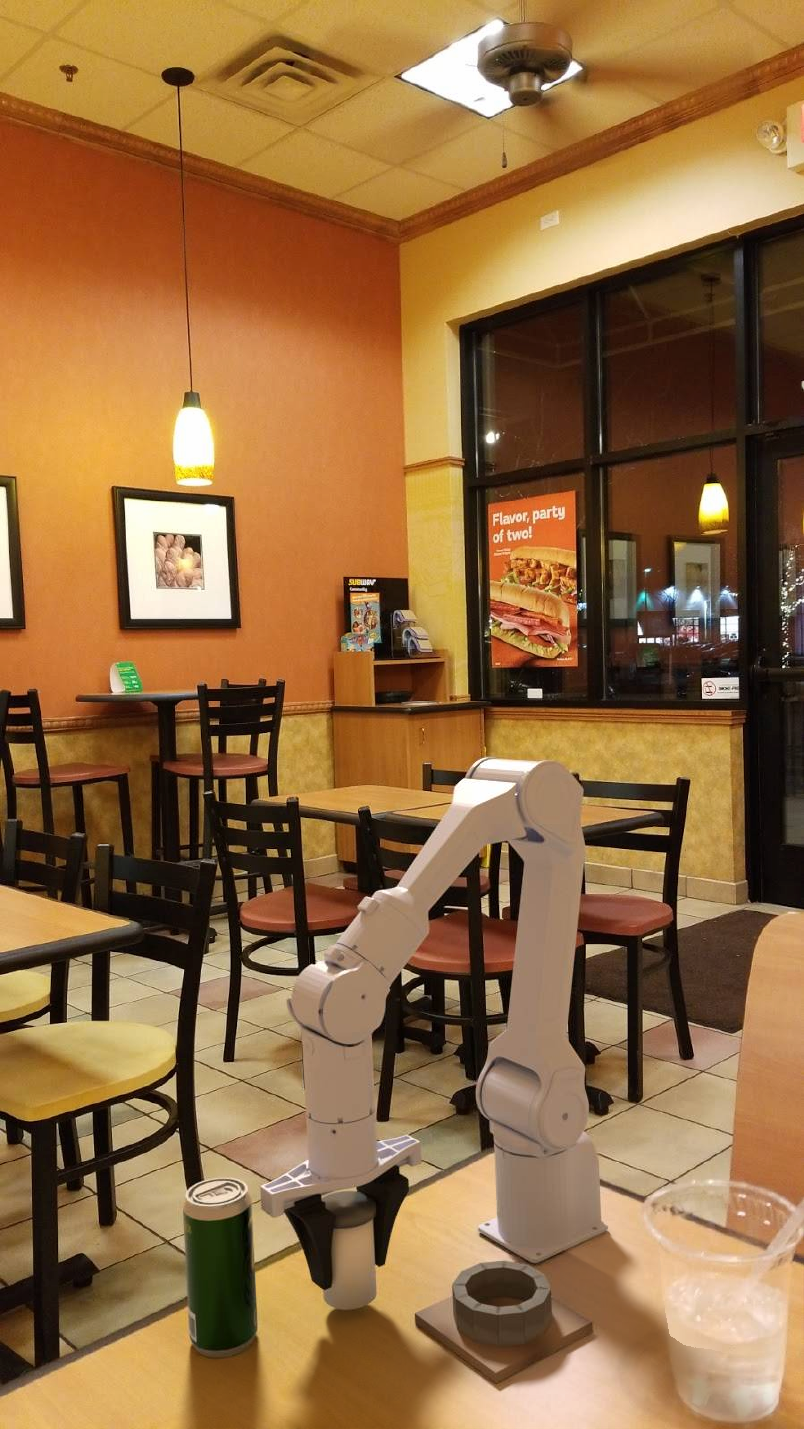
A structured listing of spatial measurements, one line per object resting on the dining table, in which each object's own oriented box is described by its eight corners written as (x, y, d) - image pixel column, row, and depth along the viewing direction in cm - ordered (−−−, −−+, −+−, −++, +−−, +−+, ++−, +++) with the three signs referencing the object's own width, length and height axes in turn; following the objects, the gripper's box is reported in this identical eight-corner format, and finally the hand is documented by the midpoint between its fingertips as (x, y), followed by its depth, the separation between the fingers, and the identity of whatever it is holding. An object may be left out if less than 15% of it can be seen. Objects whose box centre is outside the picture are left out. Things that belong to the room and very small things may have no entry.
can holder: (508, 1278, 95) (506, 1241, 95) (592, 1331, 87) (591, 1290, 87) (415, 1322, 90) (413, 1282, 89) (496, 1383, 81) (494, 1339, 81)
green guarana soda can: (206, 1369, 85) (198, 1214, 84) (179, 1335, 89) (171, 1189, 89) (269, 1343, 88) (262, 1193, 87) (240, 1312, 92) (233, 1170, 92)
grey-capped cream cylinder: (358, 1271, 95) (354, 1185, 95) (392, 1295, 91) (387, 1206, 91) (308, 1292, 92) (303, 1203, 92) (341, 1318, 88) (336, 1226, 88)
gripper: (385, 1075, 99) (392, 1225, 99) (239, 1119, 90) (247, 1283, 91) (433, 1097, 93) (440, 1256, 94) (282, 1147, 85) (291, 1321, 85)
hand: (348, 1272), depth 92 cm, fingers closed on grey-capped cream cylinder, 5 cm apart
